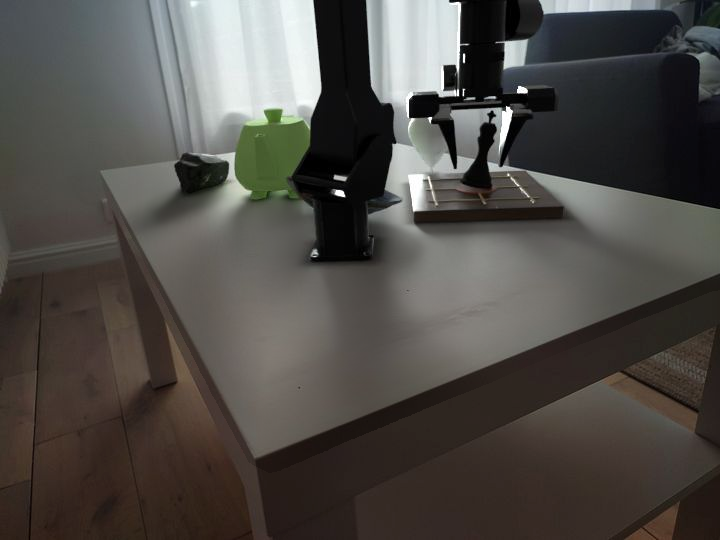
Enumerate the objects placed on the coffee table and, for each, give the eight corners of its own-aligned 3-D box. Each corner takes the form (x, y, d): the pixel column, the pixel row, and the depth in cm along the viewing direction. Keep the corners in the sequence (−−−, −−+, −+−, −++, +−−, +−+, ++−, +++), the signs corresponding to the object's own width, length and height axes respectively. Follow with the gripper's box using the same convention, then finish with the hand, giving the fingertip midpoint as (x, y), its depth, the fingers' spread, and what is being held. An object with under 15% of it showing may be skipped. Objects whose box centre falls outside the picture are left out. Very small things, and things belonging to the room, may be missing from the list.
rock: (162, 186, 90) (155, 152, 88) (207, 176, 96) (202, 144, 94) (192, 196, 84) (186, 160, 81) (239, 184, 89) (234, 150, 87)
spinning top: (463, 173, 88) (465, 98, 84) (425, 180, 85) (425, 103, 80) (436, 166, 95) (436, 96, 90) (400, 172, 91) (398, 100, 87)
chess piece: (476, 180, 76) (492, 108, 72) (498, 189, 72) (516, 114, 69) (453, 180, 74) (468, 106, 70) (475, 189, 70) (492, 111, 66)
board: (562, 218, 64) (564, 205, 63) (413, 222, 65) (413, 210, 65) (524, 179, 82) (525, 169, 82) (408, 184, 84) (408, 174, 83)
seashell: (276, 236, 63) (272, 195, 61) (292, 206, 75) (288, 171, 73) (404, 231, 63) (404, 189, 61) (400, 202, 74) (399, 166, 72)
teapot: (312, 208, 73) (303, 115, 68) (219, 210, 75) (204, 119, 70) (333, 176, 92) (327, 100, 87) (258, 178, 93) (248, 103, 88)
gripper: (540, 39, 73) (532, 153, 79) (405, 47, 74) (407, 158, 80) (565, 38, 63) (553, 169, 69) (407, 48, 64) (409, 175, 70)
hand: (477, 167), depth 72 cm, fingers open, 6 cm apart
